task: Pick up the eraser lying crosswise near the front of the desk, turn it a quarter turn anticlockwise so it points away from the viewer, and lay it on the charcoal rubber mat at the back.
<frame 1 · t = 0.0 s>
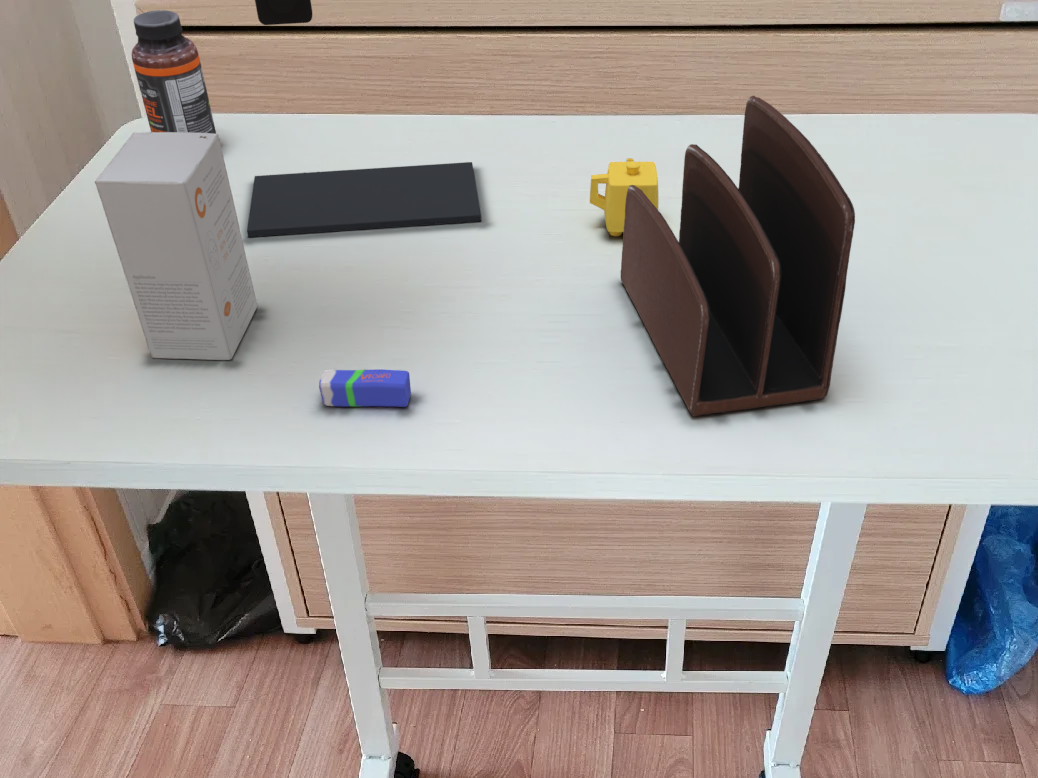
mat: (365, 201, 99), on the table
teapot: (622, 227, 95), on the table
small box: (206, 334, 85), on the table
eraser: (368, 403, 78), on the table
supplement bottle: (188, 151, 107), on the table
letter holder: (715, 339, 83), on the table
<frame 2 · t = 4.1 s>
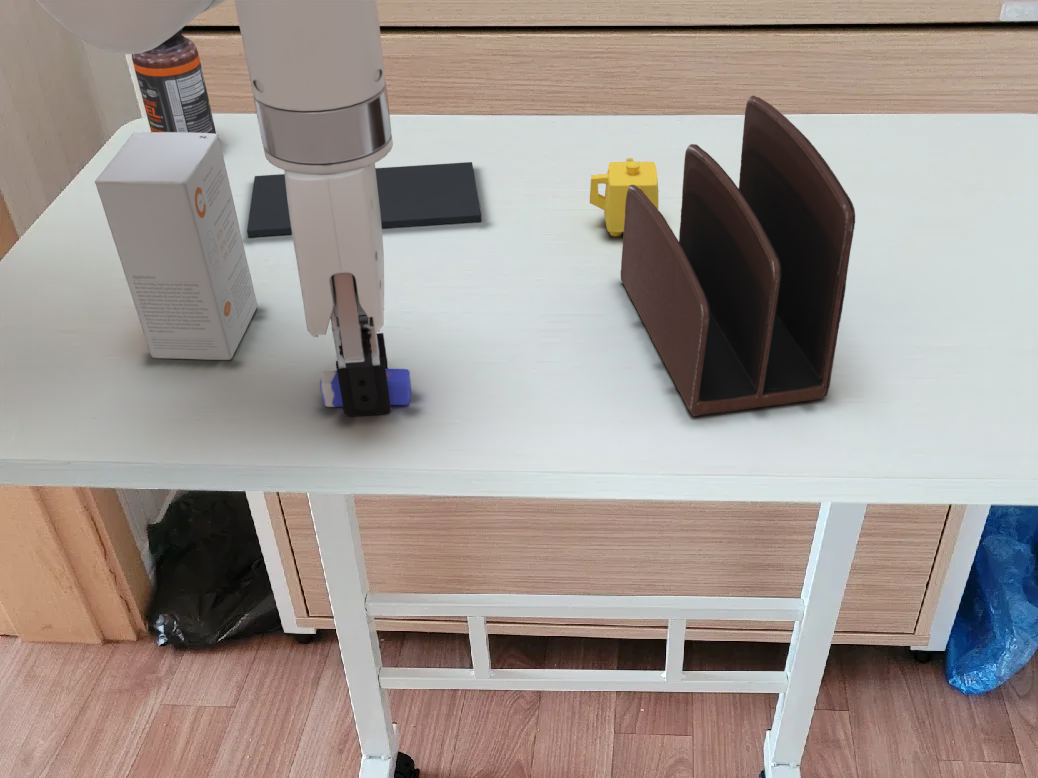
hand: (367, 398, 78), 0 cm above the table, tool pointing down, fingers closed on eraser, 2 cm apart
eraser: (368, 403, 78), on the table, touching gripper
everything else where it was.
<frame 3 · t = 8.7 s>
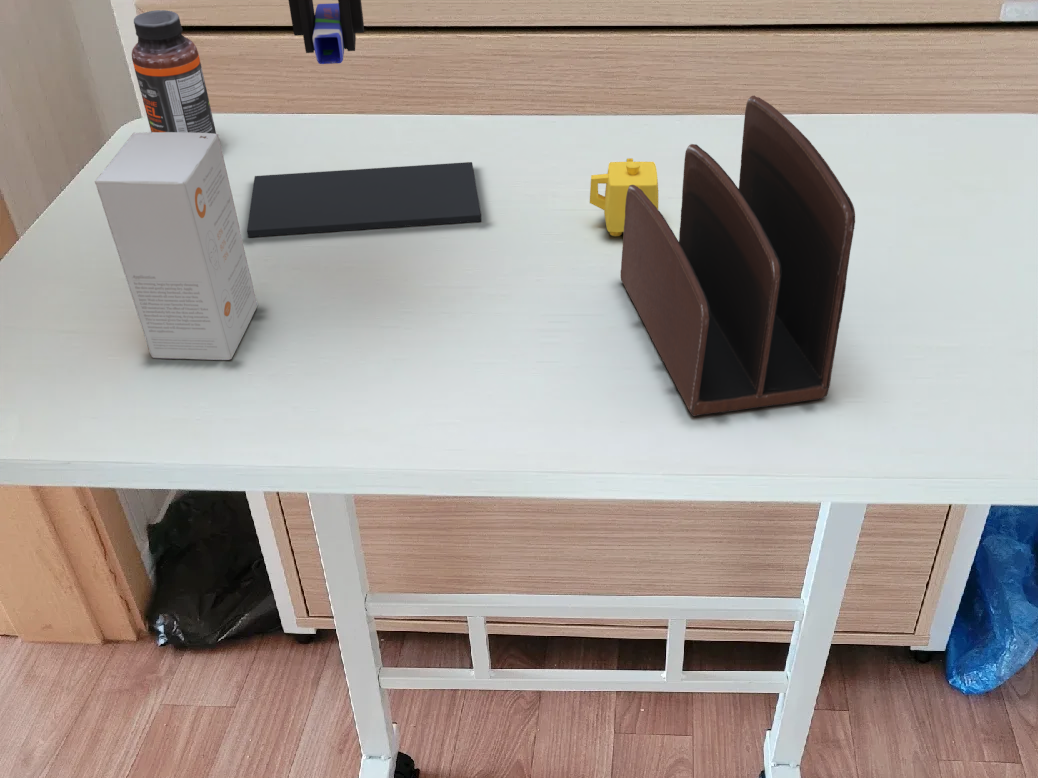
hand: (331, 43, 77), 17 cm above the table, tool pointing down, fingers closed on eraser
eraser: (332, 52, 78), point 16 cm above the table, touching gripper
everything else where it was.
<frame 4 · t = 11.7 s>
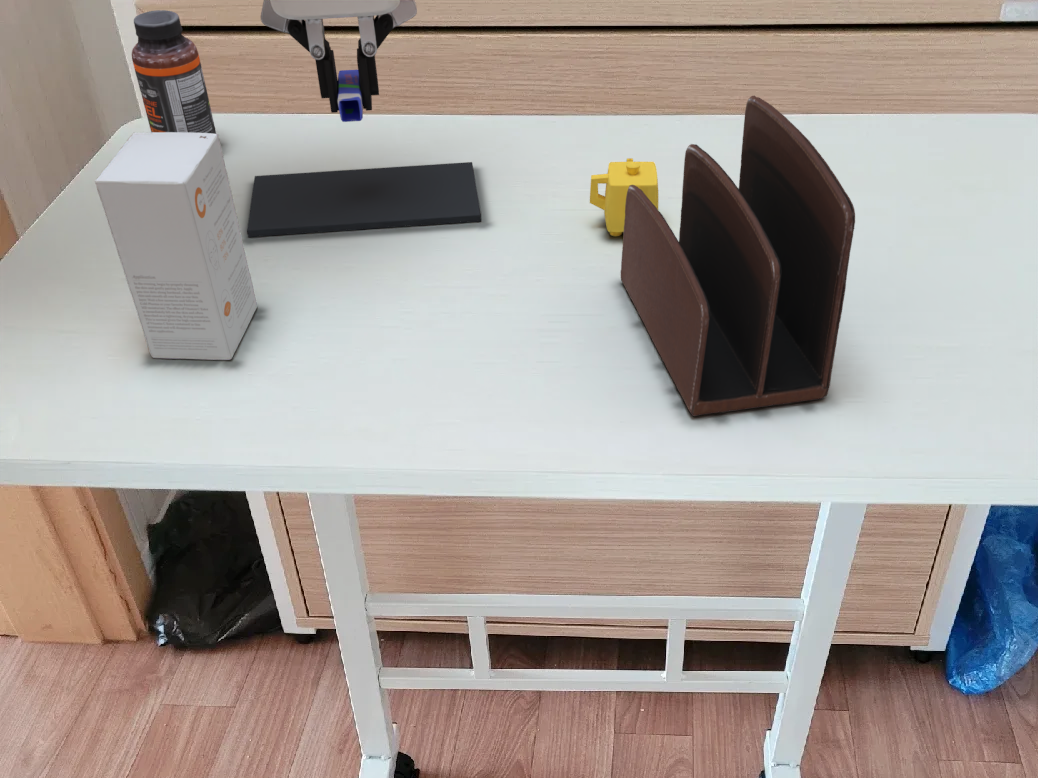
hand: (351, 103, 93), 8 cm above the table, tool pointing down, fingers closed on eraser
eraser: (352, 111, 93), point 7 cm above the table, touching gripper
everything else where it was.
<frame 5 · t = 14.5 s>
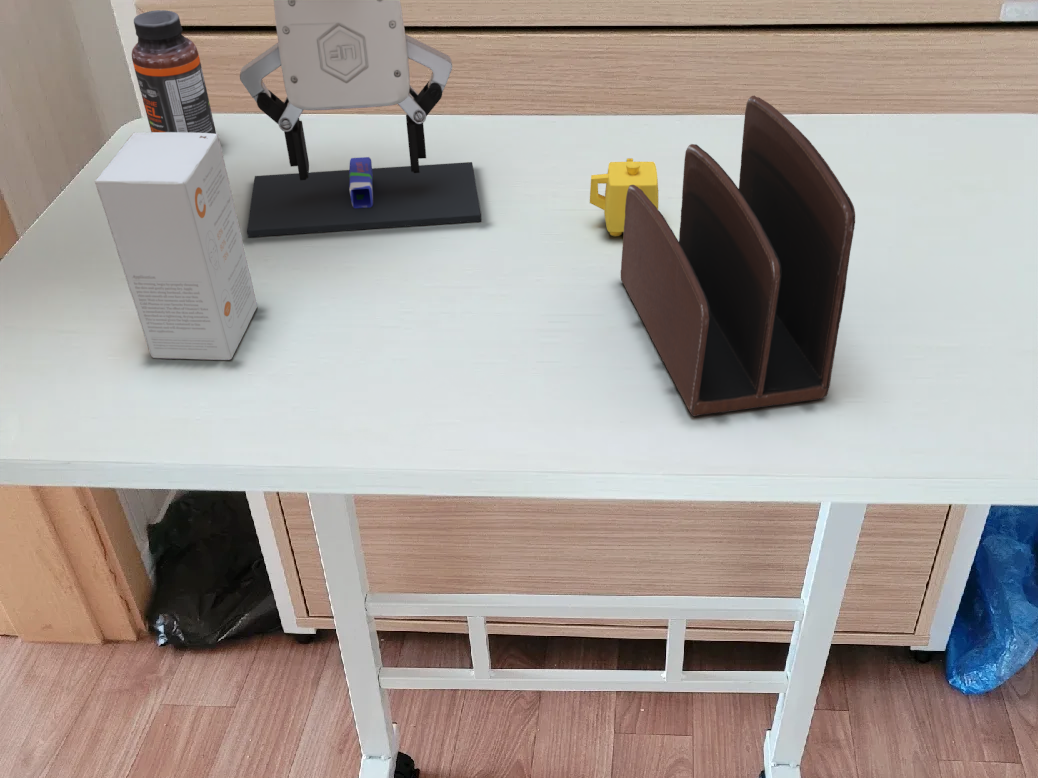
hand: (360, 170, 97), 3 cm above the table, tool pointing down, fingers open, 9 cm apart
eraser: (363, 196, 99), resting on mat
everything else where it was.
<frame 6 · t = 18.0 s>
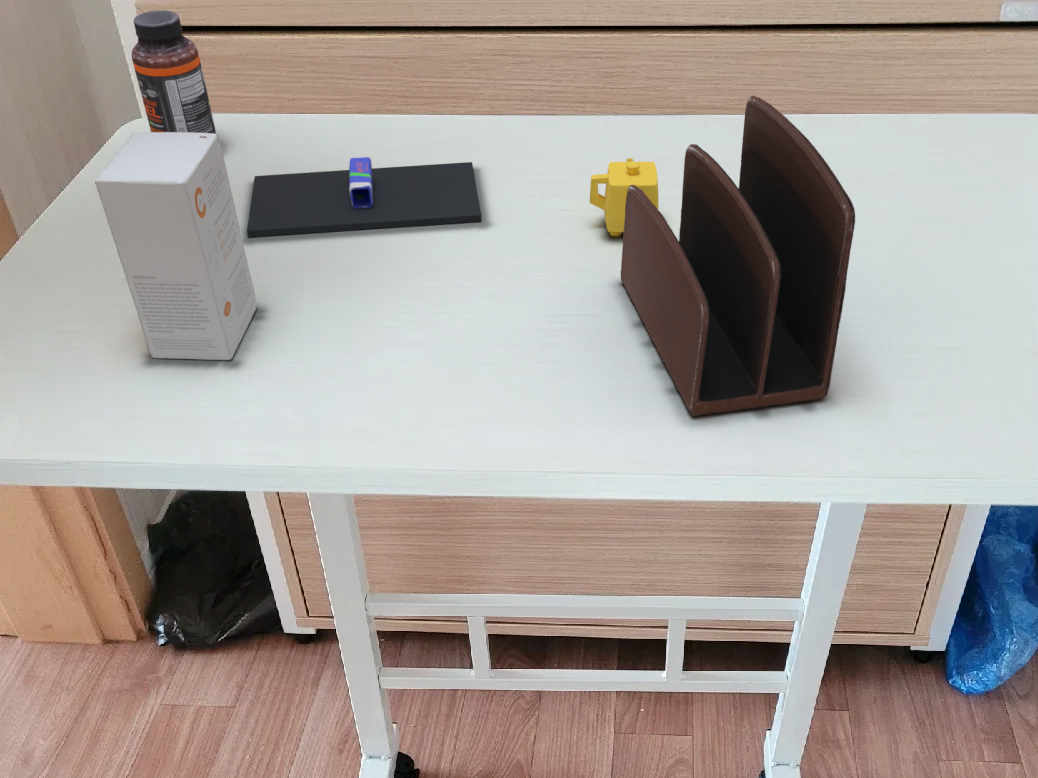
nothing on the table moved.
at the end: eraser inside the target area on the mat (0.1 cm from its centre), point 0.4 cm above the mat's base; the gripper is holding nothing; eraser tilted 0° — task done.
